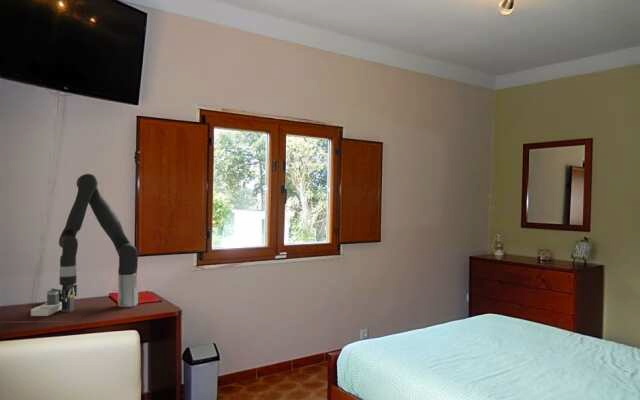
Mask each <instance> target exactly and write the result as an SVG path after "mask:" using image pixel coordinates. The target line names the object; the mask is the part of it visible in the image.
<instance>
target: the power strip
mask: <svg viewBox="0 0 640 400" xmlns="http://www.w3.org/2000/svg"><path fill="white" fill-rule="evenodd" d="M59 311H62V302H59V304H57V305H47V302H45V303H43V304H41V305H39V306H36V307H33V308H31V309H30V317H49V316H51V315H53V314H55V313H57V312H59Z"/></svg>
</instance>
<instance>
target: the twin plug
mask: <svg viewBox="0 0 640 400" xmlns="http://www.w3.org/2000/svg"><path fill="white" fill-rule="evenodd" d="M49 291H50V290H49ZM47 292H48V291H47ZM47 292H46V298H47V299H46V300H47V301H46V303H47V305H57V304H59V292H58V291H50V292H48V293H47Z"/></svg>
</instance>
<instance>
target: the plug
mask: <svg viewBox="0 0 640 400" xmlns="http://www.w3.org/2000/svg"><path fill="white" fill-rule="evenodd" d="M65 296H66V295H65ZM74 310H75V298H74V294H70V295H69V298H68V299H67V309H66V310H62V309H61V313H71V312H73V311H74Z"/></svg>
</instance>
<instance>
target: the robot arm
mask: <svg viewBox="0 0 640 400" xmlns="http://www.w3.org/2000/svg"><path fill="white" fill-rule="evenodd" d="M76 187H77V188H78V189H77V194H76V197H75V200H74V203H73V205H72V207H71V209H70V212H69V214H68V217H67V220H66V223H65V226H64V228H63V230H62V232H61V234H60V236H59V240H58V245H59V246H60V248H62V250H61V251H62V252H61V253H62V254H61V256H60V259H59V282H58V283H59V285H60V286H61V287H62V288H61V290H59V291H58V292H59V302H62V309H61V311H62V310H66V309H67V299H68V298H69V295H70V294H74V299H75V298H76V297H77V295H78V293H77V292H78V291H77V290H78V285H77V270H78V269H77V254H78V253H77V252H78V247H79V243H78V242H79V241H78V239H77V235H78V234H77V233H79V231H80V230H81V228H82V225H83V223H84V219H85V216H86V213H87V209H88V205H89V206H90V208H91V211H92V212H93V214H94V216H95V218H96V220H97V221H98V223H99V225H100V227H101V228H102V230H103V231H104V232H105V234H106V236H108V238H109V239H110V241H111V242H112V243H113V246H114V248H115V250H116V253H117V255H118V272H117V274H118V276H117V277H118V278H117V280H118V283H117V284H118V286H117V300H118V301H117V304H118V305H117V306H118V307H119V308H132V307H135V306H137V305H138V304H139V287H138V286H137V285H138V278H137V277H138V275H137V273H138V263H139V262H138V261H139V260H138V259H139V257H138V256H139V254H138V253H139V251H138V249H137V247H136V246H134V245H133V244H132V243H131V241H130V240H129V238H128V236H127V235H126V233H125V232H124V230H123V229H124V228H123V226H122V224H121V221H120V220H119V217H118V215H117V213H116V211H114V209H113V208H112V206H111V205H110V204H109V203H108V201H106V199H105V198H104V197H103V195H102V194H101V192H100V190H99V188H98V179H97V177H96V176H95V175H94V174H92V173H85V174H82V175H80V176H78V178H77V179H76ZM65 295H66V296H65ZM61 297H62V298H61Z"/></svg>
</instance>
